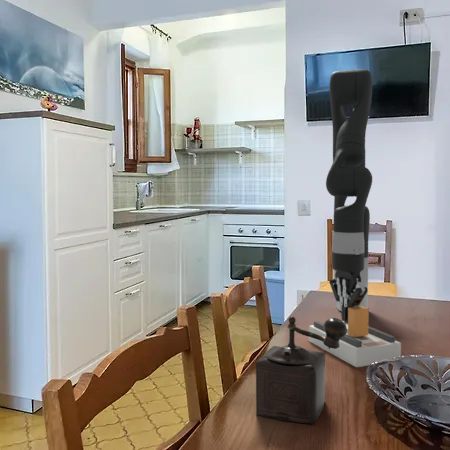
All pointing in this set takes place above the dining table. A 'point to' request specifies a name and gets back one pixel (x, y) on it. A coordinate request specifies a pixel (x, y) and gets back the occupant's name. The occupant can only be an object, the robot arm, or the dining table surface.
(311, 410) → the manual coffee grinder
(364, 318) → the block
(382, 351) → the breaker panel
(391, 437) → the dining table surface
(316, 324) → the pair of grey rails
